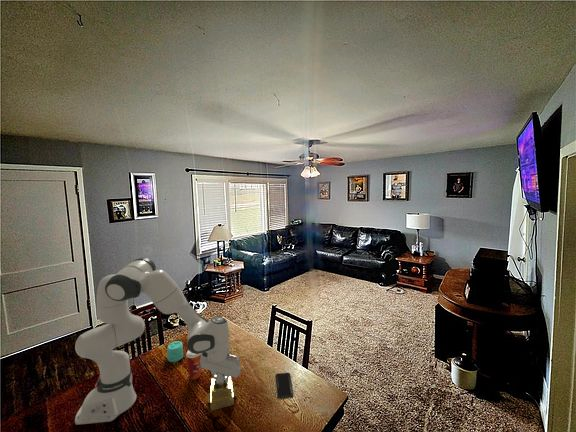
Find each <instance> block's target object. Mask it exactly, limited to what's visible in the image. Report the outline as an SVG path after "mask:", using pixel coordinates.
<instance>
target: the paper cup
mask: <svg viewBox="0 0 576 432" xmlns="http://www.w3.org/2000/svg"><path fill="white" fill-rule="evenodd" d="M185 356H186V358H187V366H188V367H187V368H188V375H189V379H190V380H197V379H199V378H201V375H202V374H201V373H202V367H201V364H200V359H201V353H200V354H194V353H192V352H190V351H189V350H188V349H187V352H186V355H185Z"/></svg>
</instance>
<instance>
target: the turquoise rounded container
mask: <svg viewBox="0 0 576 432" xmlns="http://www.w3.org/2000/svg"><path fill="white" fill-rule="evenodd" d="M166 352H167V353H166V354H167V357H166V358H167V361H168V362H169V363H175V362H178V361H181V360H182V359H183V358H184V345H183V342H182V341H180V340H177V341H172V342H170V343H169V344H168V345H167V350H166Z"/></svg>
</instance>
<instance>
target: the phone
mask: <svg viewBox="0 0 576 432" xmlns="http://www.w3.org/2000/svg"><path fill="white" fill-rule="evenodd" d="M274 376H275V377H274V378H275V387H276V398H278V399H283V398H284V399H285V398H292V397H294V390H293V389H294V388H293V385H292V378H291V373H290V372H281V373H279V372H278V373H276V374H275V375H274Z"/></svg>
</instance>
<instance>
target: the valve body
mask: <svg viewBox="0 0 576 432" xmlns="http://www.w3.org/2000/svg"><path fill="white" fill-rule="evenodd" d="M210 382H211V385H210V393H207V394H206V398H207V399H206V400H207V401H206V402H207V403H206V404H210V411H215V410H218V409H222V408H226V407H231V406H234V405H235V403H234V401H235V400H234V399H235V398H234V397H237V387H236V386H234V387H233V381H232V377H231V376H229V381H228V383H226V387H224V388H219V389H216V379H213V377H212V378H211V381H210Z"/></svg>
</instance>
